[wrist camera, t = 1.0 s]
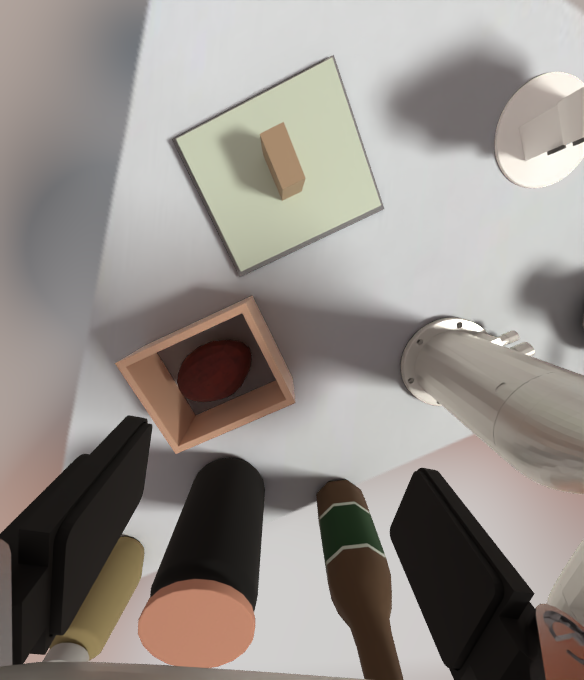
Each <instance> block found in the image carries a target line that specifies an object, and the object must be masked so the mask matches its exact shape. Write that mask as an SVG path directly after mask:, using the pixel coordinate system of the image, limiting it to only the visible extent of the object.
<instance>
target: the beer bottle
mask: <svg viewBox="0 0 584 680" xmlns="http://www.w3.org/2000/svg"><path fill="white" fill-rule="evenodd" d="M316 496H317V507H318V519H319V526H320V532H321V539H322V546H323V553H324V559H325V566H326V573H327V579H328V585H329V590H330V594H331V599H332V601H333V603H334V606H335V607H336V610H337V612H338V614H339V615H340V616H341V618H342V619H343V620H344V621H345V623H346V624H347V625H348V626H349V627H350V629H351V632H352V635H353V637H354V641H355V644H356V646H357V650H358V654H359V658H360V663H361V667H362V671H363V674H364V678H365V679H367V680H403V676H402V672H401V668H400V665H399V660H398V656H397V653H396V648H395V644H394V640H393V637H392V632H391V626H390V620H389V618H390V613H391V609H392V607H391V606H392V600H391V599H392V590H391V574H390V570H389V567H388V563H387V560H386V557H385V554H384V551H383V548H382V545H381V543H380V540H379V537H378V534H377V532H376V529H375V526H374V523H373V520H372V518H371V515H370V512H369V509H368V506H367V504H366V501H365V498H364V497H363V494H362V491H361V490H360V489H359V488H358V487H356V486H355V485H353V484H352V483H351V482H349V481H348V480H337V481H329V482H328V483H327V484H326V485H325V486H324V487H323V488H322V489H321V490H320V491H319V492H318V493H317V494H316Z"/></svg>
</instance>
